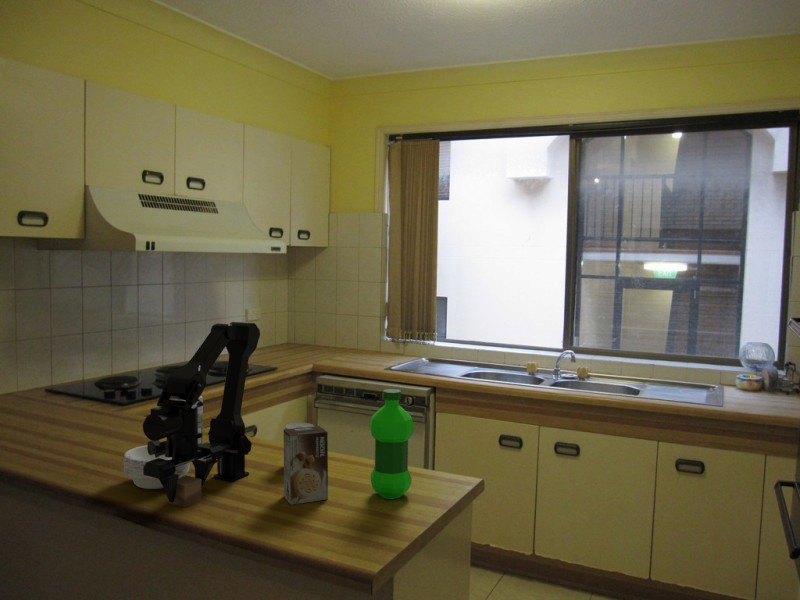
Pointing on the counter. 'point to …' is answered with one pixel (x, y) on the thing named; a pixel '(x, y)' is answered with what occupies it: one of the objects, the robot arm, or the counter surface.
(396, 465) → the plastic bottle
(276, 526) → the counter surface
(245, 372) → the robot arm
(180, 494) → the walnut block
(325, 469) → the coffee box
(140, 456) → the paper bowls
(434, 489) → the counter surface
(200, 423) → the syrup box
